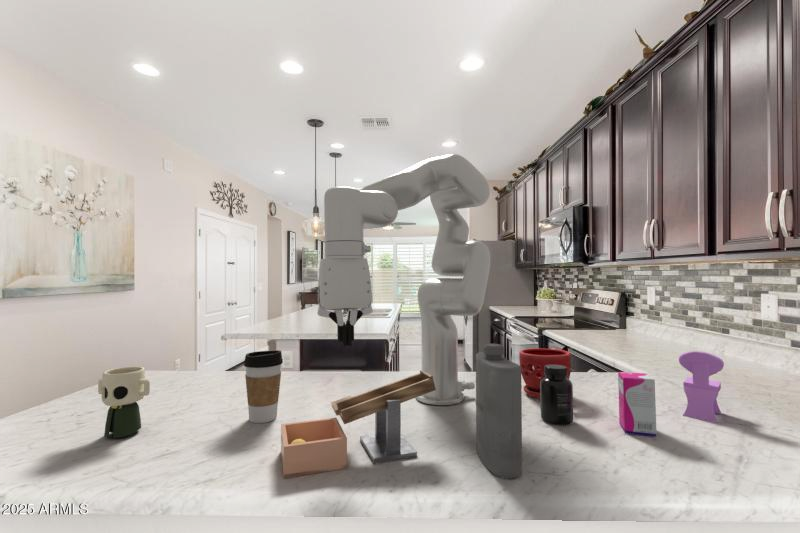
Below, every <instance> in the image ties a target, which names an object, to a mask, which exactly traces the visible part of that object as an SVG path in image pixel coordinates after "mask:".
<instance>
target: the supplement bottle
mask: <svg viewBox="0 0 800 533" xmlns="http://www.w3.org/2000/svg"><path fill="white" fill-rule="evenodd" d="M544 374H545V377H543V378H542V379H541V381H540V399H539V400H540V418H541V419H542V421H544V422H545V423H547V424H551V425H555V426H568V425H572V424H573V422H574V389H573V387H574V386H573V382H572V381H571V379H570V378H569V379H568V378H567V377H566V376H568V373H567V367H566V366H562V365H545V366H544Z"/></svg>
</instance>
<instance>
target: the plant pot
mask: <svg viewBox="0 0 800 533" xmlns="http://www.w3.org/2000/svg"><path fill="white" fill-rule="evenodd" d="M518 354H519V355H518V356H519V357H518V358H519V359H518V360H519V366H520V367H521V378H522V379H523V382H524V384H525V385H524V386H523V391H524V393H526V394H527V396H529V397H531V398H535V399H539V400H540V381H541V379H542V378H543V377H545V374H544V366H545V365H562V366H566V367H567V373H568V376H566V377H567V378H568V379H569V380H570V377H571V367H572V361H571V360H572V359H571V353H570V352H569V351H567V350H564V349H555V348H543V347H542V348H541V347H539V348H526V349H521V350H519V353H518ZM533 368H534V369H533Z"/></svg>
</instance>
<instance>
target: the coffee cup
mask: <svg viewBox="0 0 800 533" xmlns="http://www.w3.org/2000/svg"><path fill="white" fill-rule="evenodd" d="M283 360H284V359H283V356H282V350H279V349H278V350H277V349H276V350H259V351H251V352H248V353H246V354H245V356H244V360H243V366H244V367H245V374H244V375H245V376H244V377H245V387H246V397H247V399H246V400H247V407H248V420H249V422H251V423H253V424H254V423H255V424H264V423H269V422H271V421H274V420H276V419H277V417H278V405H279V396H280V389H281V386H280V385H281V377H282V371H281V367H282V364H283Z"/></svg>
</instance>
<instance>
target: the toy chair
mask: <svg viewBox="0 0 800 533" xmlns="http://www.w3.org/2000/svg"><path fill="white" fill-rule="evenodd" d="M678 362H679V364H680V366H681V367H683V368H684V369H685V370H686V371H687V372H690V373H691V374H692V377H690V376H687V377H686V379H684V381H683V383H682V384H683V388H682V389H683V392H684V394H685V396H686V399H687V405H686V408H685V411H684V413H683V414H682V415H683V417H688V418H693V419H696V420H697V419H698V420H701V421H706V422H713V423H719V421H718V418H717V416H716V414H721V413H722V412H721V410H720V407H719V404H718V400H717V398H718V396H719V393H720V391H721V389H722V386H721V384H722V383H721V381H719V380H718V381H716V380H710V376H714V375H716V374H717V373H719V372H721V371H722V370H723V369H724V367H725V364H724V361H723V359H721V357H719V356H717V355H714V354H713V353H709V352H706V351H698V350H692V351H691V350H690V351H686V352H683V353H681V354H680V355H679V356H678ZM715 413H716V414H715Z"/></svg>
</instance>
